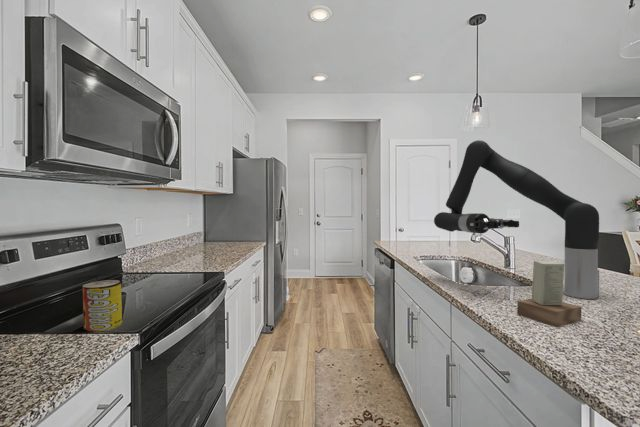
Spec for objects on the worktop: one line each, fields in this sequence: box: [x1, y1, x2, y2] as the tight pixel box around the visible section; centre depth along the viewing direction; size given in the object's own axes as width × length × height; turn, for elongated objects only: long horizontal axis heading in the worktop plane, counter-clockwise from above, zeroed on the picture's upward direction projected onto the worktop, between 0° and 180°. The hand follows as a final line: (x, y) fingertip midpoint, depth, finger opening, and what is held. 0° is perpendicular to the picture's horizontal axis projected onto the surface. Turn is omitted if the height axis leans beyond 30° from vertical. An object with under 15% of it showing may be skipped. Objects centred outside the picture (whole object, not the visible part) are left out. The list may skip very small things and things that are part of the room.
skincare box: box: [531, 260, 565, 305], centre depth 93 cm, size 6×4×12 cm
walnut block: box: [516, 298, 582, 328], centre depth 94 cm, size 11×11×4 cm
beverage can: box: [82, 279, 123, 333], centre depth 91 cm, size 9×9×12 cm
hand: (508, 224), depth 109 cm, fingers open, 8 cm apart
